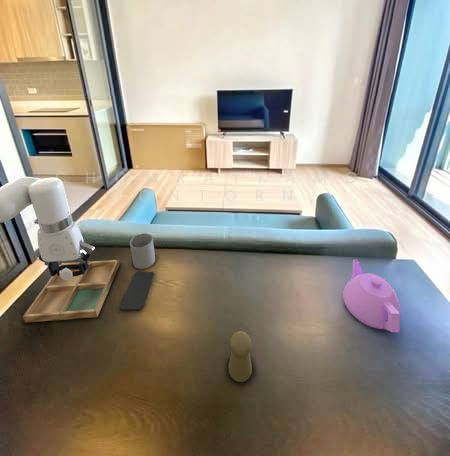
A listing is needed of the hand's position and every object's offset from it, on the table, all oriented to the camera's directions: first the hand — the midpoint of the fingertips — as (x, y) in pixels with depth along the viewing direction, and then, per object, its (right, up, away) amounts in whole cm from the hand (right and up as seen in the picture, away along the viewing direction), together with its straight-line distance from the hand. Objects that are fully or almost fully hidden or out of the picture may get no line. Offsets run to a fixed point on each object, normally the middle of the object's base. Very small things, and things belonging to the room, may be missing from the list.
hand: (70, 271), depth 74 cm
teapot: (+92, -14, +5) cm, 93 cm away
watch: (0, -1, 0) cm, 1 cm away
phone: (+16, -12, +12) cm, 23 cm away
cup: (+14, -7, +25) cm, 30 cm away
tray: (-5, -12, +12) cm, 18 cm away
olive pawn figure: (+50, -20, -10) cm, 55 cm away
